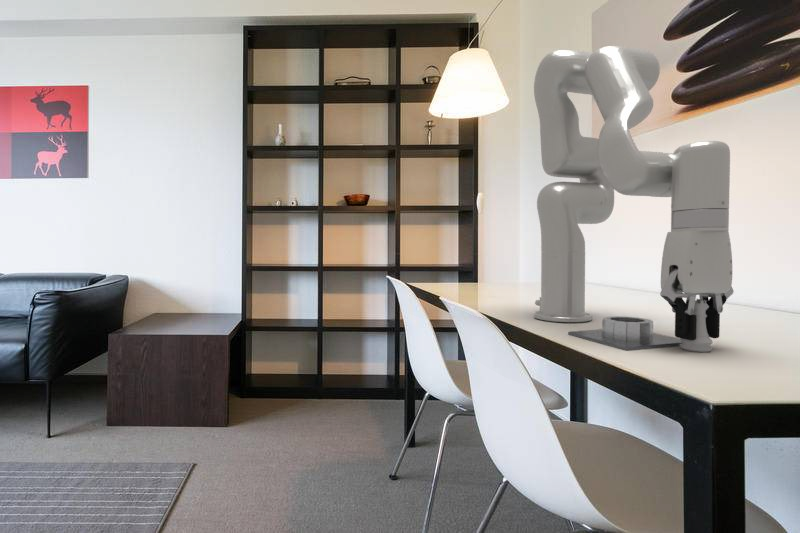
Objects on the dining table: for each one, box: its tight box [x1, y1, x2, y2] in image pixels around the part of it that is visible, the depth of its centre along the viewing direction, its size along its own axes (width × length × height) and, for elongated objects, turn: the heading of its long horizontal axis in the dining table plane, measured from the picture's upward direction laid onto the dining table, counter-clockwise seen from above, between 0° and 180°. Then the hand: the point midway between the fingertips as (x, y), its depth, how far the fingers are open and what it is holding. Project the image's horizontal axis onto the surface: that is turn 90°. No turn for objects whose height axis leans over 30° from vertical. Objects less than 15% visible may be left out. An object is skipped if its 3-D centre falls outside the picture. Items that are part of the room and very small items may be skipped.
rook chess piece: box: [679, 298, 713, 353], centre depth 69 cm, size 4×4×8 cm
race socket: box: [567, 315, 682, 351], centre depth 77 cm, size 14×14×4 cm
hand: (696, 336), depth 69 cm, fingers open, 4 cm apart
